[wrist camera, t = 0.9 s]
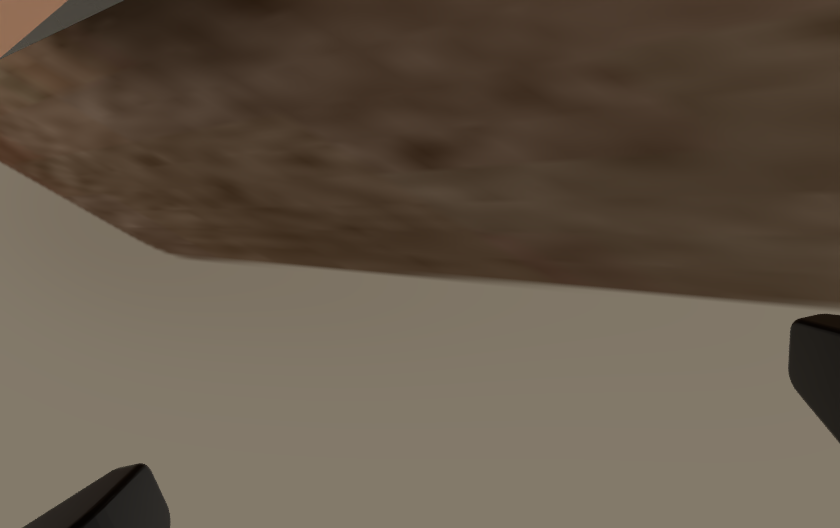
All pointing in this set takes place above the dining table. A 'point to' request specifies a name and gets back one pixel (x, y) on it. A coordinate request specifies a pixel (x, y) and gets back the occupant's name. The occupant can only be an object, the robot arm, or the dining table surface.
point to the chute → (63, 20)
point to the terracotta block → (22, 19)
